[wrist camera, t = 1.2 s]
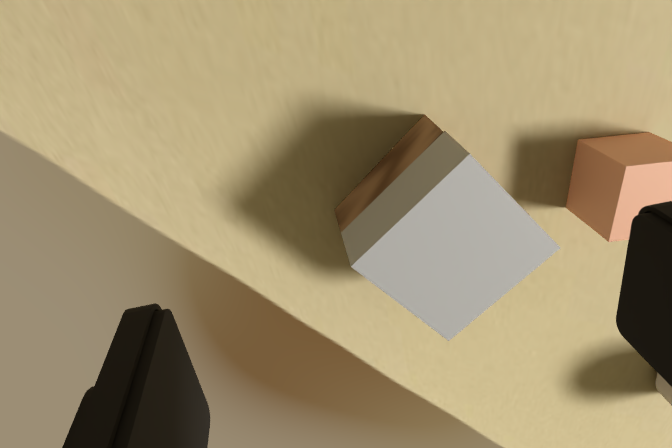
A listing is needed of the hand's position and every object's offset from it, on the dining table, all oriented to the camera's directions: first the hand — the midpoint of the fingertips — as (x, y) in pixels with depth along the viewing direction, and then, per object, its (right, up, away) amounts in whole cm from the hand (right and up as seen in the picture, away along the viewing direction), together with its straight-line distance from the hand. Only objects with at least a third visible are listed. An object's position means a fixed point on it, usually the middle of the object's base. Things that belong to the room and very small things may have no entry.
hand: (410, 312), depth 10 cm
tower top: (+6, +2, +26) cm, 27 cm away
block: (+21, +6, +31) cm, 38 cm away
